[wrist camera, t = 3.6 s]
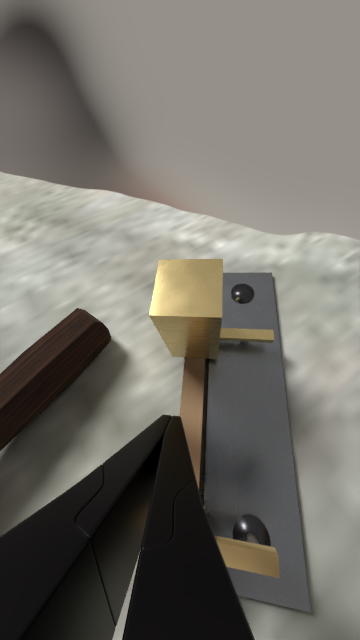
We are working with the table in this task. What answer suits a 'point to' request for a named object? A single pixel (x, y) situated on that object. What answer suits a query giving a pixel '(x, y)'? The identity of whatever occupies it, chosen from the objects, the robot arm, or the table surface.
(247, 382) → the bolt strip
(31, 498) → the table surface
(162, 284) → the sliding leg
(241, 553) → the trammel bar
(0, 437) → the hammer
